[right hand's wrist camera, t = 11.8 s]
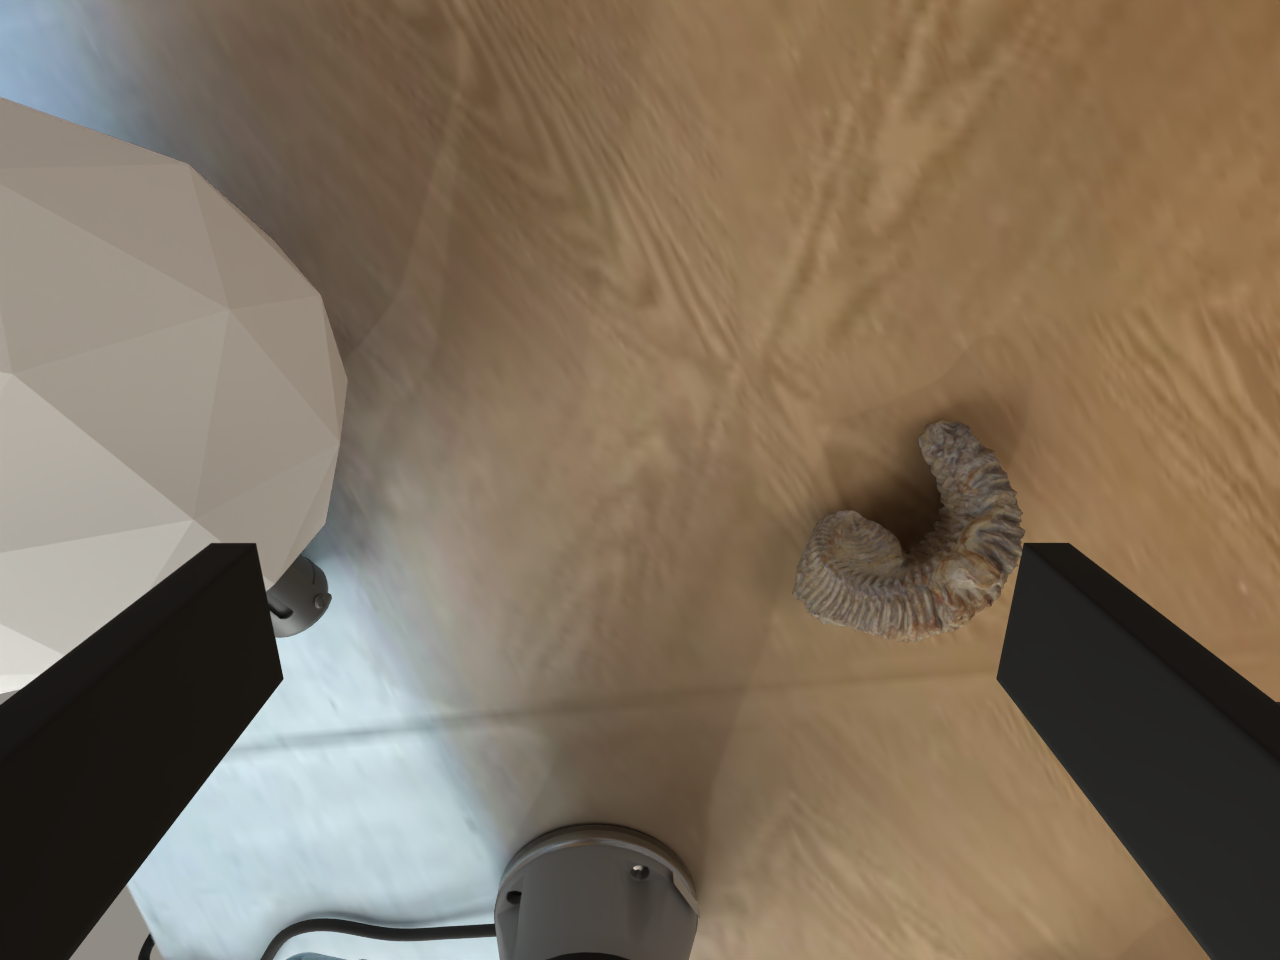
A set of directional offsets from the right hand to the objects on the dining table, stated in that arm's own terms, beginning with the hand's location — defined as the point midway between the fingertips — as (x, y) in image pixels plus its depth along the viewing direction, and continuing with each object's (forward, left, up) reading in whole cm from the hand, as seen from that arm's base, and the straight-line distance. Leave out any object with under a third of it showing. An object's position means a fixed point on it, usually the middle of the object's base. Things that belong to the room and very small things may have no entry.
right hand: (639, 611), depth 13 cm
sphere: (-24, +3, -30) cm, 39 cm away
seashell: (+12, -15, -30) cm, 36 cm away
